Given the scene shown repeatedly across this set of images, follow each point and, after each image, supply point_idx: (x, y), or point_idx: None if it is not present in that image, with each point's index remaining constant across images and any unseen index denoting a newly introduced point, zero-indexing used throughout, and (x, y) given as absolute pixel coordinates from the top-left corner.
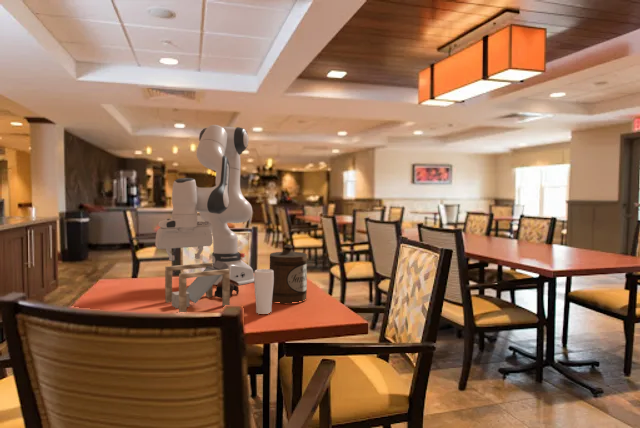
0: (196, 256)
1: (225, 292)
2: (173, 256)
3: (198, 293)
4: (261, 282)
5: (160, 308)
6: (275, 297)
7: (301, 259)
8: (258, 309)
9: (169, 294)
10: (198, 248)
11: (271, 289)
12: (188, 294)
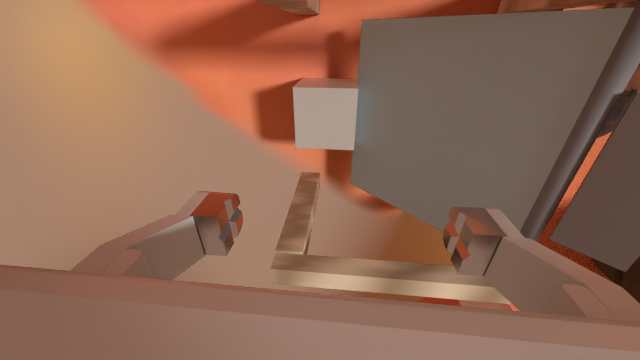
0: (454, 248)
1: None
2: (218, 250)
3: (378, 179)
4: None
5: (258, 96)
6: None
7: None
8: (461, 305)
9: (302, 11)
10: (549, 313)
11: None
12: (348, 148)
